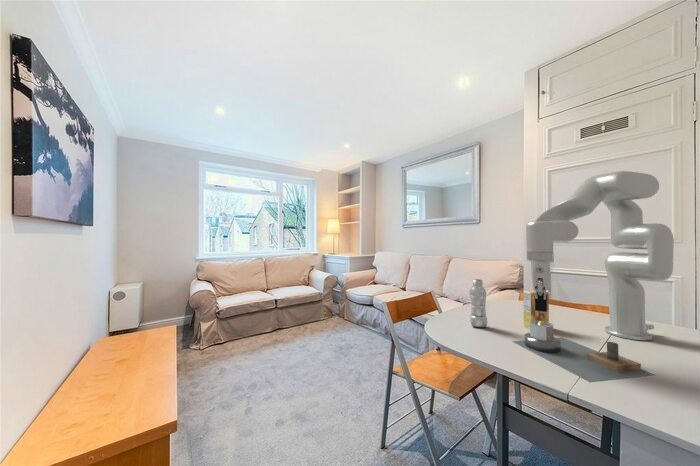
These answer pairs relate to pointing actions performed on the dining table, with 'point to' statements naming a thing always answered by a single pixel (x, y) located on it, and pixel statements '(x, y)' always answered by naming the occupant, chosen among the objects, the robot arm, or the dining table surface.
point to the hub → (543, 344)
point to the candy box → (533, 309)
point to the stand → (613, 359)
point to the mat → (583, 362)
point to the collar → (541, 331)
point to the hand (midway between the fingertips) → (541, 307)
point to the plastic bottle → (478, 304)
